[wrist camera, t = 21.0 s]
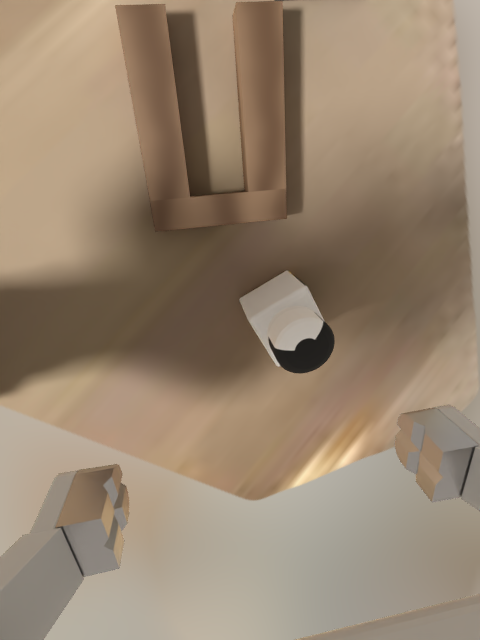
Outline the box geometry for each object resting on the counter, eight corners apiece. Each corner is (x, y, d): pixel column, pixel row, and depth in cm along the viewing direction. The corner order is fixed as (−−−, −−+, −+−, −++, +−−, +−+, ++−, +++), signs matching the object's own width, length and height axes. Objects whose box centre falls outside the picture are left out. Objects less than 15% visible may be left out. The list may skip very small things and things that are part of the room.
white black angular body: (310, 313, 43) (353, 358, 32) (264, 341, 43) (290, 394, 32) (287, 268, 40) (325, 300, 29) (237, 298, 41) (257, 341, 30)
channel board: (157, 228, 36) (155, 231, 34) (120, 19, 29) (115, 5, 26) (280, 216, 37) (286, 218, 35) (275, 14, 30) (282, 0, 28)
